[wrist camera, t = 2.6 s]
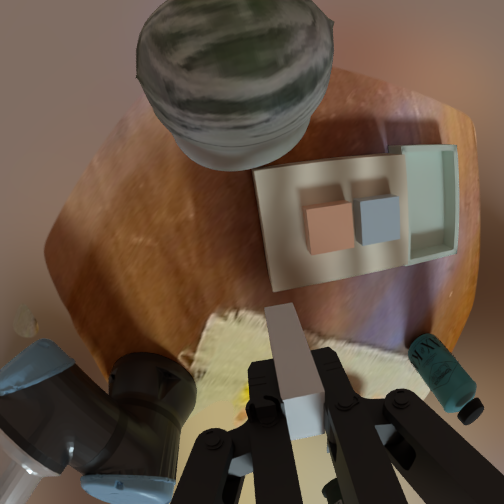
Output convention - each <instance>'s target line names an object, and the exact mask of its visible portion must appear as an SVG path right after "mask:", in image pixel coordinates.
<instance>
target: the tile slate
mask: <svg viewBox="0 0 504 504" xmlns="http://www.w3.org/2000/svg"><path fill="white" fill-rule="evenodd" d="M353 204H354V217H355V232H356V241H357V242H358V243H359V244H361V245H362V246H365V245H371V244H376V243H381V242H386V241H392V240H397V239H400V206H399V196H396V195H393V194H384V195H376V196H369V197H361V198H354V199H353Z"/></svg>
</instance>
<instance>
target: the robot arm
mask: <svg viewBox="0 0 504 504" xmlns="http://www.w3.org/2000/svg"><path fill="white" fill-rule="evenodd" d="M264 309H265V315H266V321H267V327H268V332H269V338H270V344H271V350H272V355H273V359H268V360H262V361H256V362H252V363H251V365H250V367H249V369H248V383H249V397H250V400H249V401H248V403H247V404H246V409H245V410H246V413H247V416H248V420H247V421H246V423H244V424H243V425H242V426H240V427H238V428H236V429H233V430H230V431H228V432H227V431H225V430H223V429H220V428H211V429H208V430H206V431H203V432H202V433H201V434H199V436H198V437H197V439H196V441H195V443H194V446H193V448H192V451H191V453H190V456H189V458H188V461H187V463H186V466H185V468H184V471H183V473H182V476H181V478H180V481H179V483H178V486H177V488H176V491H175V493H174V496H173V498H172V495H173V489H174V485H175V484H176V471H177V461H178V451H179V441H180V434H181V428H182V427H183V425H184V423H185V422H186V420H187V419H188V417H189V415H190V414H191V412H192V411H193V409H194V407H195V403H196V396H197V388H196V384H195V382H194V380H193V378H192V377H191V375H190V374H189V373H188V372H187V371H186V370H185V369H184V368H183V367H182V366H180V365H179V364H177V363H176V362H174V361H172V360H170V359H168V358H166V357H163V356H160V355H157V354H152V353H143V352H140V353H131V354H128V355H125V356H123V357H121V358H120V359H119V360H118V361H117V362H116V363H115V365H114V366H113V369H112V371H111V373H110V376H109V395H108V394H107V393H106V392H105V391H103V390H102V389H101V388H100V387H99V386H98V385H97V384H96V383H95V382H94V381H93V380H92V379H91V378H90V377H89V376H88V375H87V374H86V373H85V372H83V370H82V369H81V368H80V367H79V366H78V365H77V364H76V363H75V360H74V359H73V358H70V357H69V356H68V355H67V354H66V353H65V352H64V351H63V350H62V349H61V348H60V347H58V345H57V344H56V343H54V342H53V341H52V340H49V339H39V340H37V341H36V342H34V343H33V344H31V345H30V346H28V347H27V348H26V349H24V350H23V351H22V352H21V353H19V354H18V355H17V356H16V357H14V358H13V359H12V360H11V361H10V362H8V363H7V364H6V365H5V366H4V367H3V368H2V369H0V504H25V503H26V502H27V500H28V499H29V497H30V496H31V494H32V493H33V491H34V490H35V488H36V487H37V485H38V484H39V482H40V480H41V479H42V477H46V476H60V475H61V473H62V472H63V470H64V469H65V467H66V466H67V465H70V466H71V467H73V468H74V469H76V470H77V471H79V472H80V473H81V474H82V475H83V476H82V477H81V478H80V481H81V487H82V488H83V489H84V490H85V491H86V492H87V493H88V494H90V495H92V496H93V497H96V498H97V499H100V500H102V501H105V502H108V503H111V504H169V503H170V501H171V503H170V504H238V502H239V498H240V494H241V490H242V486H243V482H244V478H245V475H246V474H249V473H251V472H253V474H254V486H255V499H256V504H303V501H302V496H301V491H300V486H299V480H298V475H297V470H296V465H295V460H294V455H293V450H292V444H291V440H296V439H301V438H306V437H311V436H315V435H320V434H324V433H325V431H326V434H327V453H329V452H330V455H331V458H332V462H333V466H334V468H335V473H336V476H337V480H338V483H339V487H340V490H341V494H342V497H343V501H344V504H408V502H407V500H406V498H405V495H404V493H403V490H402V488H401V485H400V483H399V481H398V478H397V476H396V473H395V471H394V469H393V466H392V464H393V465H394V466H395V468H396V469H397V470H398V471H399V472H400V474H401V475H402V476H403V477H404V478H405V479H406V481H407V482H408V483H409V484H410V485H411V487H412V488H413V489H414V490H415V491H416V492H417V494H418V495H419V496H420V497H421V498H422V499H423V501H424V502H425V503H426V504H504V475H503V474H502V473H501V472H500V471H498V470H497V469H496V468H495V467H494V466H493V465H492V464H491V463H490V462H489V461H488V460H487V459H486V458H484V457H483V456H482V455H481V454H480V453H479V452H478V451H477V450H476V449H475V448H473V446H471V445H470V444H469V443H468V442H467V441H466V440H465V439H464V438H463V437H462V436H461V435H460V434H459V433H457V432H456V431H455V430H454V429H453V428H452V427H451V426H450V425H448V423H447V422H445V421H444V420H443V419H442V418H441V417H440V416H439V415H438V414H437V413H436V412H435V411H434V410H432V409H431V408H430V407H429V406H428V405H427V404H426V403H425V402H424V401H423V400H422V399H420V398H419V397H418V396H417V395H416V394H415V393H414V392H412V391H410V390H407V389H396V390H393V391H391V392H390V393H388V394H387V395H386V397H385V399H367V398H363V397H361V396H360V395H359V394H357V393H355V391H354V390H353V388H352V386H351V384H350V381H349V379H348V377H347V375H346V373H345V371H344V368H343V366H342V364H341V362H340V360H339V358H338V356H337V353H336V352H335V351H333V350H332V349H331V348H330V347H325V348H321V349H316V350H311V351H310V349H309V346H308V343H307V340H306V338H305V335H304V332H303V329H302V327H301V324H300V321H299V318H298V316H297V313H296V310H295V308H294V305H293V302H292V303H287V304H281V305H276V306H270V307H265V308H264ZM391 463H392V464H391ZM171 499H172V500H171Z"/></svg>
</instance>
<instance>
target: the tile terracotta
mask: <svg viewBox="0 0 504 504" xmlns="http://www.w3.org/2000/svg"><path fill="white" fill-rule="evenodd" d="M302 210H303V218H304V227H305V235H306V244H307V250H308V252H309V253H310V254H311V256H312V255H317V254H323V253H328V252H333V251H339V250H344V249H350V248H355V247H354V229H353V214H352V203H351V202H349V201H346V200H340V201H333V202H326V203H320V204H313V205H307V206H302Z"/></svg>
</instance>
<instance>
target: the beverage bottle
mask: <svg viewBox="0 0 504 504" xmlns="http://www.w3.org/2000/svg"><path fill="white" fill-rule="evenodd" d="M408 357H409V360H410V361H411V362H410V363H412V364H413V367H415V368H416V369H415V370H417V371H418V372H419V374H420V376H421V377H422V378H423V379H424V381H425V382H426V384H427V385H428V387H429V388H430V390H431V391H432V392H433V393H434V395H435V396H436V398H437V399H438V401H439V402H440V404H441V405H442V406H443V408H444V410H445V411H446V412H448V413H453V412H459V411H460V412H459V413H458V416H457V417H458V419H459V420H460V421H461V422H462V423H463V424H464V425H469V424H471V423H472V422H474V421H475V420H476V419H477V418H478V417H479V416H480V414H481V413H482V412H483V410H484V406H483V404H482V403H481V401H480V399H479V398H474V396H475V392H476V383H475V382H474V381H473V380H472V378H471V377H470V376H469V375H468V374H467V372H466V371H465V370H464V369H463V368H462V367H461V365H460V364H459V363H458V361H457V360H456V359H455V357H454V356H452V355H451V353H450V352H449V351H448V350H447V348H446V347H445V346H444V344H443V343H442V342H441V341H440V340H439V339H437V338H436V337H435V336H434V335H433V334H429V333H428V334H423V335H421V336H420V337H418V338H417V339H416V340H415V341H414V342H413V343H412V344H411V346H410V348H409V351H408ZM418 372H417V373H418ZM473 398H474V399H473Z"/></svg>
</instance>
